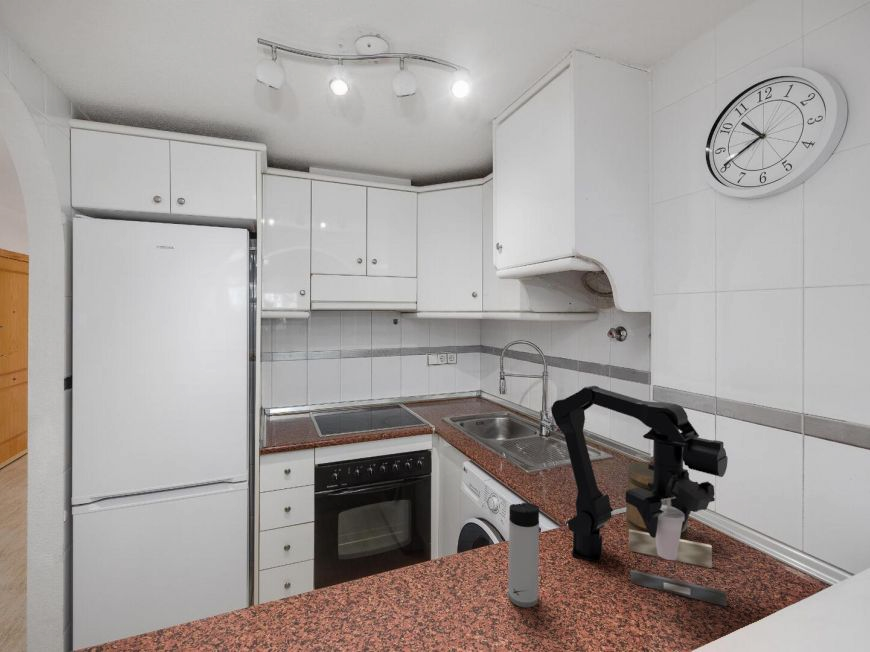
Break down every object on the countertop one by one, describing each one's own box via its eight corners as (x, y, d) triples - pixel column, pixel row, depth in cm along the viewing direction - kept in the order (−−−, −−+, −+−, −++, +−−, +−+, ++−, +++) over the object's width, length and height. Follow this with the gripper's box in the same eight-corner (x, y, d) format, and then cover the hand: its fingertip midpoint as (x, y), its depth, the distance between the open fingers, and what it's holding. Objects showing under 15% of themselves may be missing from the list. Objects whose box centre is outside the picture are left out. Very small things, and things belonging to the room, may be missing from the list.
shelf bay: (630, 583, 92) (631, 561, 92) (628, 548, 106) (629, 529, 106) (726, 607, 85) (727, 583, 84) (710, 565, 99) (710, 545, 99)
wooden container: (664, 555, 103) (665, 469, 103) (614, 528, 117) (615, 452, 116) (698, 541, 110) (699, 460, 110) (648, 517, 123) (649, 445, 123)
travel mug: (517, 611, 83) (518, 513, 82) (503, 591, 89) (504, 499, 89) (544, 606, 84) (545, 510, 84) (529, 586, 91) (530, 496, 90)
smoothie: (688, 556, 88) (689, 492, 88) (677, 567, 84) (678, 500, 84) (657, 543, 93) (658, 483, 93) (645, 554, 89) (646, 490, 89)
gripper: (671, 482, 78) (669, 563, 78) (734, 470, 85) (733, 544, 85) (624, 462, 88) (622, 534, 88) (684, 453, 95) (683, 519, 95)
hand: (666, 533), depth 89 cm, fingers closed on smoothie, 8 cm apart
